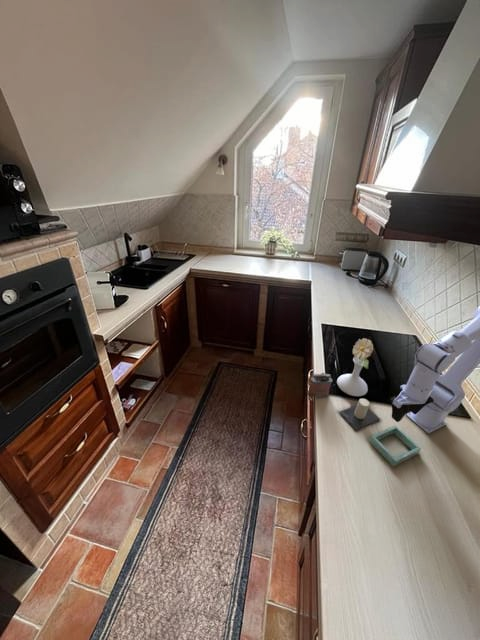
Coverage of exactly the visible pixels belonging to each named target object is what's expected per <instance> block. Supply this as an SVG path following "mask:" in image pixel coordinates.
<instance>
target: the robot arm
mask: <svg viewBox="0 0 480 640" xmlns="http://www.w3.org/2000/svg"><path fill="white" fill-rule="evenodd" d="M456 358H457V359H456ZM413 365H414V367H413V369H412V371H411V373H410V375H409V378H408V380H407V382H406V384H401V385H400V389H401V391H400V393H399V394H398V395H397V396H396V395H394V396H392V397H390V400H389V402H390V405H391V418H392V420H394V421H395V422H396V423H399V422H400V421H402V420H403V418H404V417H405V416H407V417H408V418H409V419H410V420H411V421H413V422H414V423H415V424H416V425H417V426H418V427H420V428H421V429H422V430H423V431H425V432H426V433H427V434H430V433H432V432H435V431H436V430H438V429H441V428H442V427H445V426H446V425H447V423H446V422H445V420H446V418H447V417H448V415H449V414H450V413H452V412H454V411H455V410H456V409H458V407H459V406H460V405H461V403H462V401H463V400H464V399H465V397H466V392H465V391H464V387H463V386H462V384H463V383H464V381H465V380H466V379H467V378H468V377H469V376H470V375H471V374H472V373H473V371H474V370H475V369H476V368H477V367H478V366H479V365H480V305H479V306H478V307H477V308H476V309H475V311H474V313H473V316H472V320H471V321H470V322H468V324H466V325H465V326H464V327H462V328H461V329H460V330H452V331H449V333H447V334H445V335H444V336H442V337H440V338H439V339H437V340H436V341H435V342H433V343H424V344H422V345H421V346H420V347H419V348H418V350H417V351H416V352H415V353H414V361H413ZM446 370H447V371H446ZM445 371H446V372H445ZM443 372H445V373H444V374H442V373H443ZM408 405H409V406H408Z"/></svg>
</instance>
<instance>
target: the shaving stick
mask: <svg viewBox="0 0 480 640" xmlns="http://www.w3.org/2000/svg"><path fill="white" fill-rule="evenodd" d="M356 405H357V407H356V410H355V413H354V414H355V416H356V417H357V418H359V419H364V418H365V415H366V413H367V410H368V408H369V409H370V406H371V403H370V401H369V400H368V399H366V398H359V400H358V402H357V404H356Z"/></svg>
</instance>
